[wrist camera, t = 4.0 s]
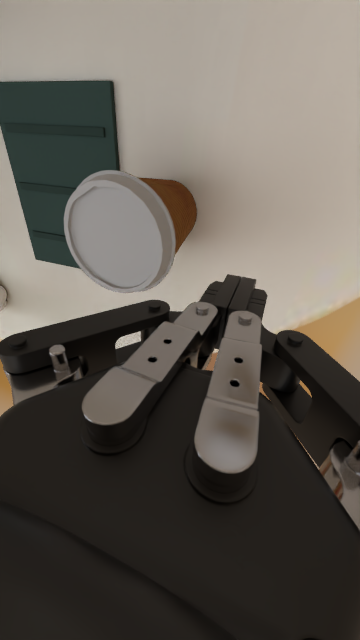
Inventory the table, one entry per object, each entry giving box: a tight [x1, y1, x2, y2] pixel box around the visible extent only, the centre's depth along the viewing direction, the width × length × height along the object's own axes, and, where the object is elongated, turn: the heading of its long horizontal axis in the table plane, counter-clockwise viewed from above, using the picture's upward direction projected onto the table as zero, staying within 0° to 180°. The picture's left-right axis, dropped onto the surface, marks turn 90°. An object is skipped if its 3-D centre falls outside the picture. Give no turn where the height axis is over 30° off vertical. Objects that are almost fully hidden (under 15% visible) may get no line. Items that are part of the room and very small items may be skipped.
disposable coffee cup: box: [64, 170, 197, 293], centre depth 26 cm, size 10×10×12 cm
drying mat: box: [0, 81, 119, 269], centre depth 33 cm, size 15×20×1 cm
